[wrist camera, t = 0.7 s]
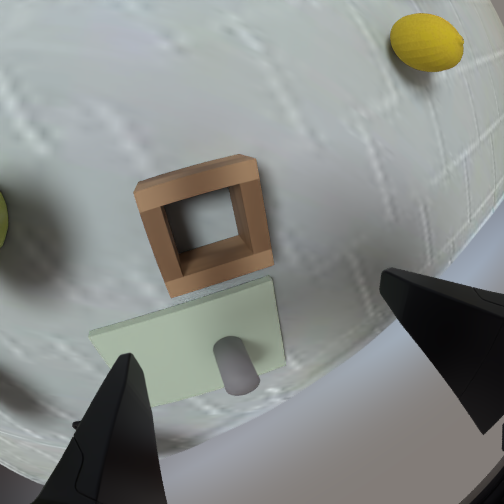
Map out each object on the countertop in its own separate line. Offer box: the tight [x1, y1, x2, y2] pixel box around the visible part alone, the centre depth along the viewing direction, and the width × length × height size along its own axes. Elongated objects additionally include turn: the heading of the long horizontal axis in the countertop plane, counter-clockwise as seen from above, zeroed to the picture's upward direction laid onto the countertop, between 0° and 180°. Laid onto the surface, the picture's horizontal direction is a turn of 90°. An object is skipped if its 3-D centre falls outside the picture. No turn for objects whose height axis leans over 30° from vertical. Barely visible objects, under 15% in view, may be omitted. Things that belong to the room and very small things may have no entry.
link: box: [133, 154, 274, 298], centre depth 17 cm, size 7×7×4 cm
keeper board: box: [88, 275, 286, 407], centre depth 21 cm, size 16×11×5 cm
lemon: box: [390, 13, 464, 72], centre depth 14 cm, size 6×6×8 cm
